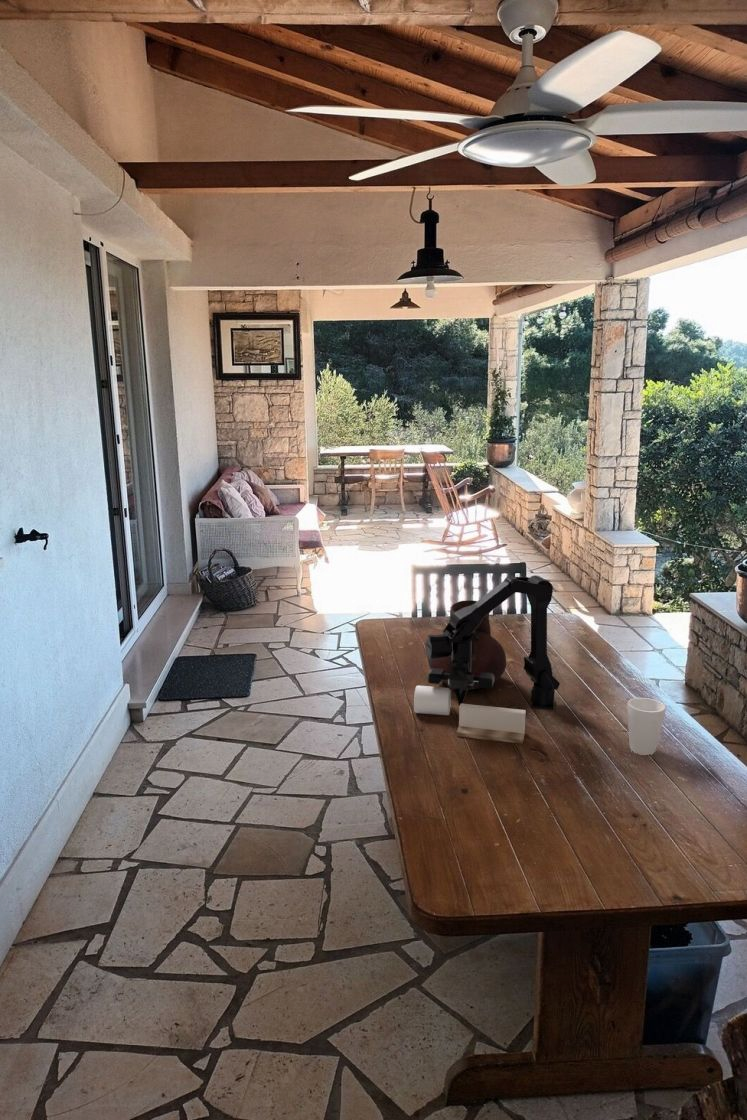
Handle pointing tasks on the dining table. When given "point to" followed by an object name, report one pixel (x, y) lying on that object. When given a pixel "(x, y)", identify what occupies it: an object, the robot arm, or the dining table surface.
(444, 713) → the mug
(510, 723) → the screen
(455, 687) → the robot arm
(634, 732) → the foam cup
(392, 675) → the dining table surface
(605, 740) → the dining table surface
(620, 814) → the dining table surface
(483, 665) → the jug
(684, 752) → the dining table surface
